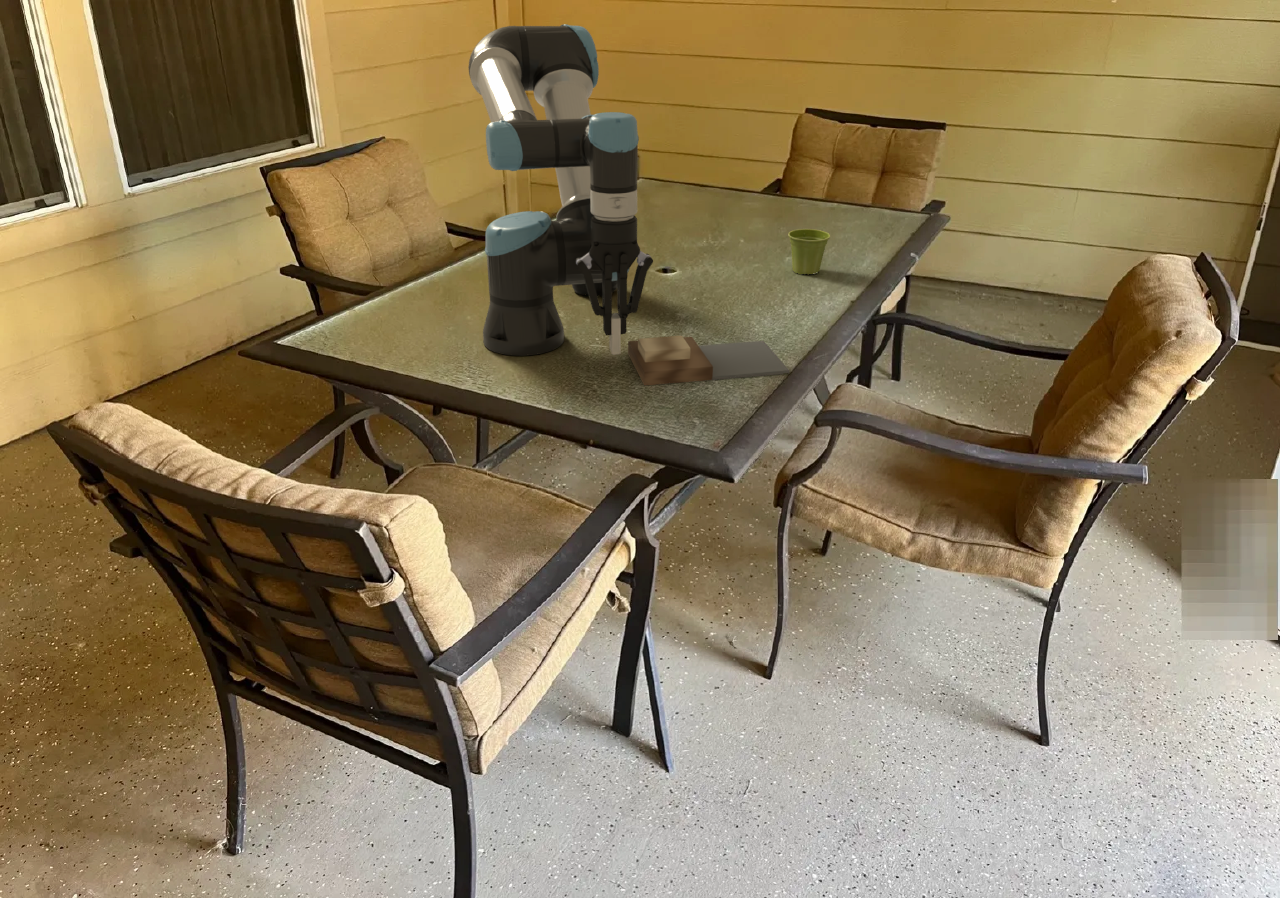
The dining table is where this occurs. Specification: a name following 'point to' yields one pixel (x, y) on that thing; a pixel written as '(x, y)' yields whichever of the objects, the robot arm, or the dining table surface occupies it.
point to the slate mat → (743, 360)
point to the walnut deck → (672, 366)
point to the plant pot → (807, 249)
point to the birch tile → (663, 348)
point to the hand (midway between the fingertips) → (615, 351)
